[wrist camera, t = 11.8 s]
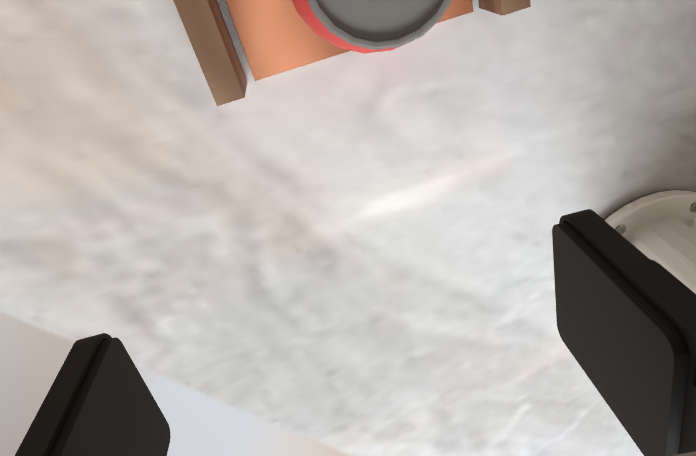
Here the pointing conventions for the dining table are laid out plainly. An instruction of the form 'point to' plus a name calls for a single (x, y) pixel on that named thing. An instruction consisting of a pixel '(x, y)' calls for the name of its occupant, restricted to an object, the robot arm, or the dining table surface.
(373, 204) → the dining table surface
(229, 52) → the frame
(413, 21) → the beer can
